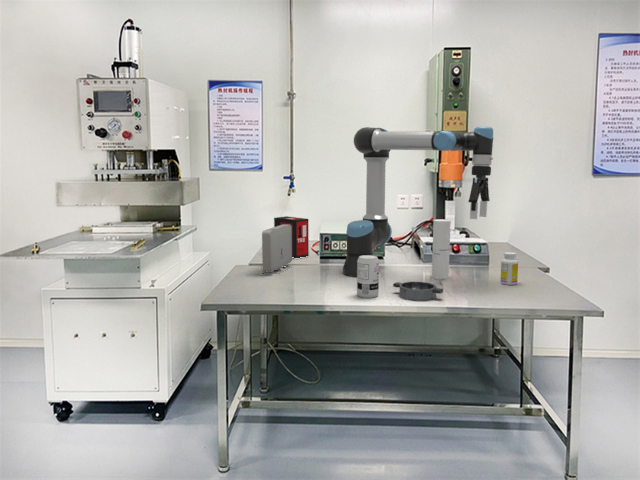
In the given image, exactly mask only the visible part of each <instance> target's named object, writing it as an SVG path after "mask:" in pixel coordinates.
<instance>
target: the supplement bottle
mask: <svg viewBox="0 0 640 480" xmlns="http://www.w3.org/2000/svg"><path fill="white" fill-rule="evenodd" d="M503 256H504V258H502V259H501V260H500V261H501V264H500V283H501V284H502V285H506V286H514V285H517V284H518V277H519V275H518V274H519V270H518V269H519V260H517V259H516V257H517V253H516V252H510V251H509V252H508V251H507V252H504V253H503Z"/></svg>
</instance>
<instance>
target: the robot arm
mask: <svg viewBox="0 0 640 480" xmlns="http://www.w3.org/2000/svg"><path fill="white" fill-rule="evenodd" d="M493 143H494V129H493V127H492V126H475V127H474V128H473V131H468V132H467V131H450V130H440V131H439V130H438V131H436V130H434V131H432V130H428V131H427V130H426V131H425V130H424V131H422V130H420V131H418V130H417V131H416V130H415V131H414V130H413V131H411V130H410V131H408V130H407V131H402V130H400V131H398V130H397V131H396V130H395V131H390V130H389V131H388V130H387V129H385V128H382V127H370V126H368V127H365V126H364V127H361V128H360V129H359V130H357V131H356V133H355V134H354V136H353V145H354V147H355V150H357V152H358V153H361V154H363V159H364V160H365V161H366V185H365V186H366V194H365V195H366V196H365V197H366V199H365V200H366V201H365V203H366V204H365V205H366V206H365V214H364V216H362V219H359V220H353V221H351V222H349V223H348V224H347V227H346V257H345V261H344V264H343V266H342V274H343V275H345V276H348V277H355V278H356V277H357V260H358V258H359V256H362V255H373V256H374V254H373V253H374V251H373V250H374V248H375V247H380V246H381V247H382V246H384V245H385V244H386V243H387V242H389V241H390V239H391V237H392V232H393V231H392V226H391V225H390V223H389V218H388V216H387V215H386V212H385V210H386V207H385V205H386V165H387V164H386V162H387V161H388V160H389V159H390V151H392V150H394V151H395V150H397V151H443V152H447V151H451V152H458V151H459V152H460V151H463V152H464V151H465V152H466V151H469V152H470V151H472V158H471V159H472V161H471V164H472V166H471V176H475V177H472V184H471V189H470V194H469V199H468V203H470V210H469V219H470V220H477V219H478V216H479V217H483V218H487V215H488V214H487V211H488V202H490V193H489V192H490V191H489V177H486V176H491V174H492V167H491V165H492V160H493V159H494V158H493V157H492V156H493V147H494V146H493V145H494V144H493ZM479 197H480V199H481V201H479ZM478 201H479V202H478ZM478 210H479V212H478ZM478 213H479V215H478Z"/></svg>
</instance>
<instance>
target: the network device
mask: <svg viewBox="0 0 640 480" xmlns="http://www.w3.org/2000/svg"><path fill="white" fill-rule="evenodd" d="M261 244H262V246H261V247H262V248H261V253H262V257H261V258H262V260H261V261H262V263H261V264H262V272H261V273H262V274H263V273H264V274H263V275H268V274H279V275H281V274H280V273H282V272H284V271H285V272H287V271H289V270H291V269H293V266H292V265H289V264H290V263H292V260H293V259H292V226H291V225H286V224H283V225H280V226H276V227H274V226H273V227H271V228H268V229H264V230H262V233H261ZM282 266H286V267H285V268H284V267H282ZM290 268H291V269H290ZM288 269H289V270H288ZM274 270H278V271H277V272H275V271H274ZM286 270H287V271H286ZM266 271H268V272H266ZM285 272H284V273H285ZM282 274H283V273H282Z"/></svg>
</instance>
